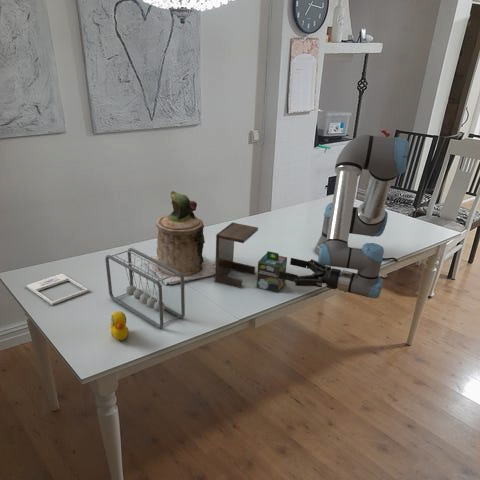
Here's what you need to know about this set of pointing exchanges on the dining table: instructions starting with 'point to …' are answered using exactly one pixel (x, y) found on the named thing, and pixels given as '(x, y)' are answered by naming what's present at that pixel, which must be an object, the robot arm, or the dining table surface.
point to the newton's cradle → (140, 294)
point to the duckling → (119, 326)
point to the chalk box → (271, 271)
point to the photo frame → (51, 282)
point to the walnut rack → (231, 252)
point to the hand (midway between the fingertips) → (285, 267)
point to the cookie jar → (181, 243)
